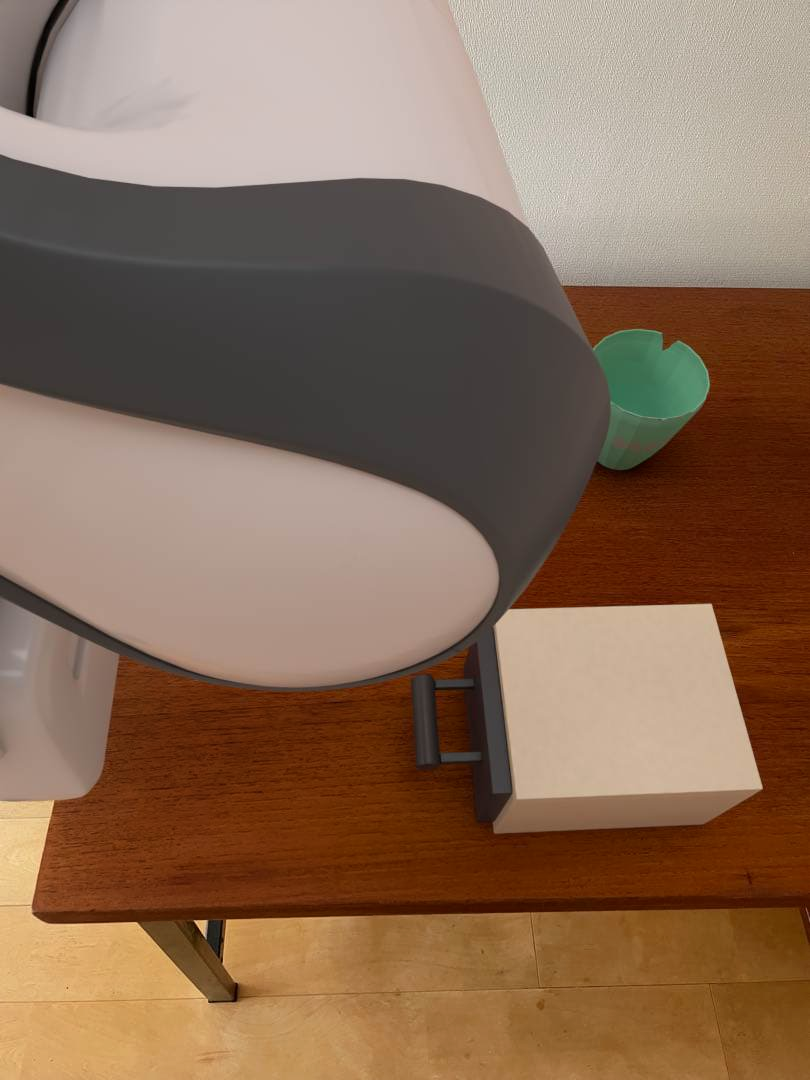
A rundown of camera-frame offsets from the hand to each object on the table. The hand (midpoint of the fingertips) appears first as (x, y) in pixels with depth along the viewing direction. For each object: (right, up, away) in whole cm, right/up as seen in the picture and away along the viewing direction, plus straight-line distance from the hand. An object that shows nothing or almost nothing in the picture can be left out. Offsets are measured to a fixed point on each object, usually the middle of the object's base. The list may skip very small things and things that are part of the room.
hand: (123, 603), depth 36 cm
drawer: (+22, -11, +21) cm, 33 cm away
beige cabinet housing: (+26, -12, +22) cm, 36 cm away
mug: (+30, +11, +37) cm, 48 cm away
